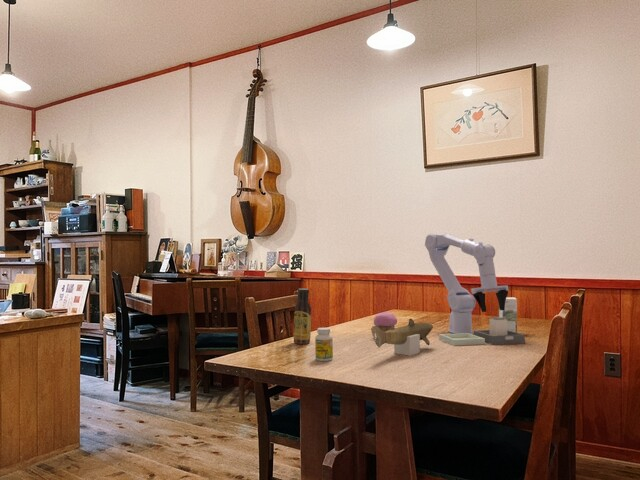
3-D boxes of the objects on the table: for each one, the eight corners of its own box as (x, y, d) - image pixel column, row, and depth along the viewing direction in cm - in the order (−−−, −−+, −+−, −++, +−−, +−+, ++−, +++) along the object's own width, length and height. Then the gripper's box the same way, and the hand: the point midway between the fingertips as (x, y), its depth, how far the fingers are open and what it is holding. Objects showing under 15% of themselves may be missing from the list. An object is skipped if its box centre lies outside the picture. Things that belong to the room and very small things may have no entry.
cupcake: (400, 337, 190) (400, 311, 190) (391, 340, 183) (391, 314, 183) (379, 335, 195) (379, 310, 195) (369, 338, 187) (369, 312, 188)
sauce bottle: (290, 344, 177) (290, 289, 178) (297, 341, 183) (297, 287, 183) (307, 345, 175) (306, 289, 175) (313, 342, 181) (313, 288, 181)
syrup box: (513, 332, 201) (512, 296, 201) (517, 334, 195) (517, 298, 195) (498, 331, 202) (498, 296, 202) (502, 334, 196) (502, 298, 196)
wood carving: (360, 361, 149) (359, 324, 150) (419, 344, 175) (419, 313, 176) (384, 365, 143) (384, 327, 144) (442, 347, 169) (441, 315, 170)
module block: (489, 339, 184) (489, 317, 184) (500, 339, 185) (500, 316, 185) (496, 342, 179) (496, 318, 180) (507, 341, 180) (507, 318, 180)
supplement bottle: (334, 358, 154) (334, 327, 154) (330, 361, 149) (329, 330, 149) (318, 357, 155) (318, 326, 156) (313, 360, 150) (313, 329, 150)
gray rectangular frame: (473, 338, 187) (473, 330, 187) (504, 336, 190) (504, 329, 190) (493, 345, 174) (493, 336, 174) (525, 343, 176) (525, 335, 176)
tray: (439, 339, 185) (439, 334, 185) (468, 338, 187) (468, 333, 187) (454, 345, 173) (454, 339, 173) (484, 344, 175) (484, 338, 175)
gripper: (475, 275, 183) (481, 312, 180) (510, 272, 186) (516, 308, 183) (466, 277, 189) (471, 313, 187) (500, 275, 192) (505, 309, 190)
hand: (493, 311), depth 186 cm, fingers open, 7 cm apart
